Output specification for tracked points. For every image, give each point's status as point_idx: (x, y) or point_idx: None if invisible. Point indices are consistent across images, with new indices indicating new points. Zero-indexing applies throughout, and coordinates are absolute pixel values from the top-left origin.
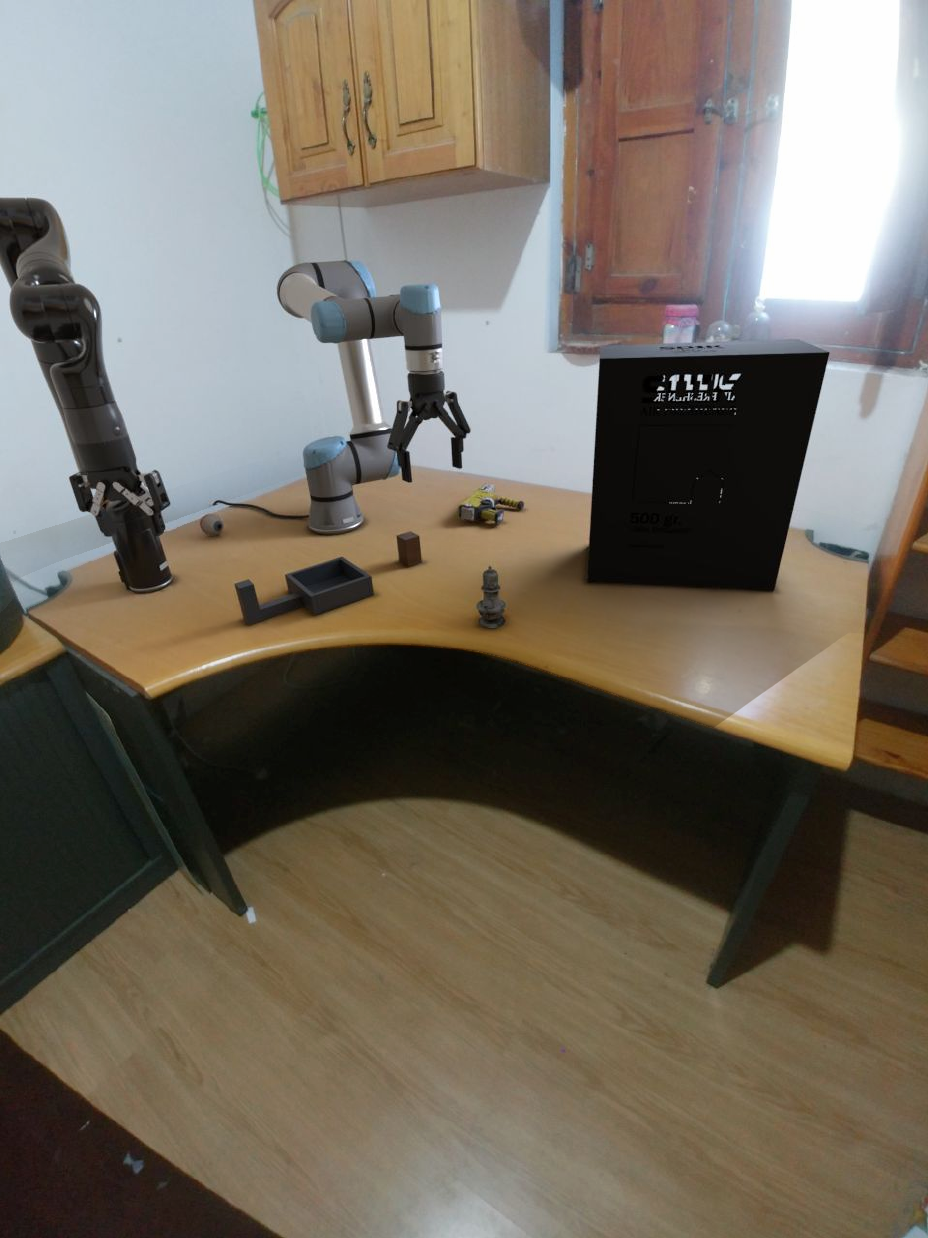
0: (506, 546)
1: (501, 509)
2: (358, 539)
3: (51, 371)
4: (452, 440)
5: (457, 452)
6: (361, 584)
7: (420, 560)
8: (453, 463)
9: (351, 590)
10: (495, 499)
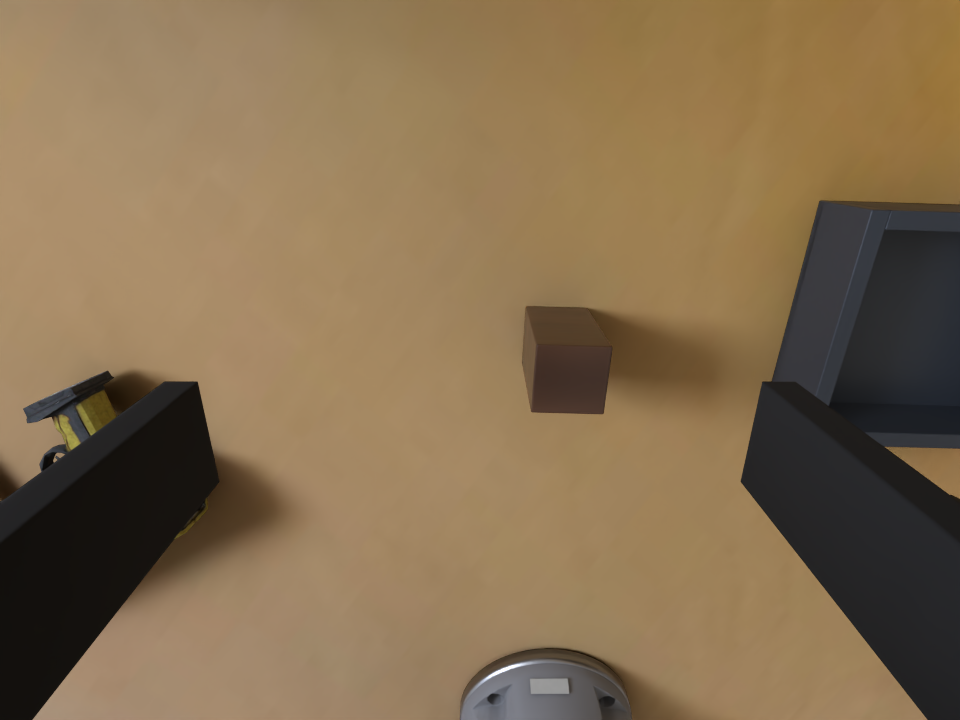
0: (176, 193)
1: (31, 418)
2: (561, 591)
3: None
4: (13, 698)
5: (97, 495)
6: (907, 208)
7: (532, 309)
8: (200, 482)
9: (943, 208)
10: None
